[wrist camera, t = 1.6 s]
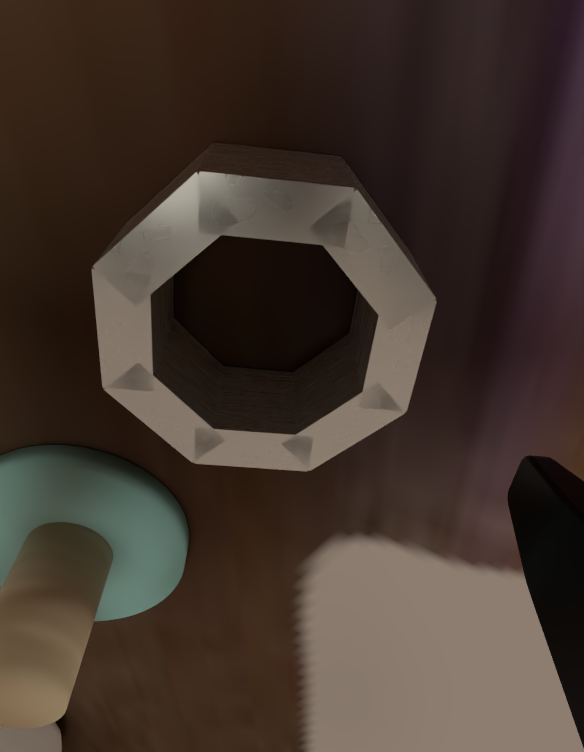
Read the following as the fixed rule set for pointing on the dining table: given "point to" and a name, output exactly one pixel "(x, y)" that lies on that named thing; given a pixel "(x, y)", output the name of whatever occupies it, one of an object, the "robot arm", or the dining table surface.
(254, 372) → the ring
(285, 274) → the dining table surface
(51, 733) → the potion bottle
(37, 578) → the post
